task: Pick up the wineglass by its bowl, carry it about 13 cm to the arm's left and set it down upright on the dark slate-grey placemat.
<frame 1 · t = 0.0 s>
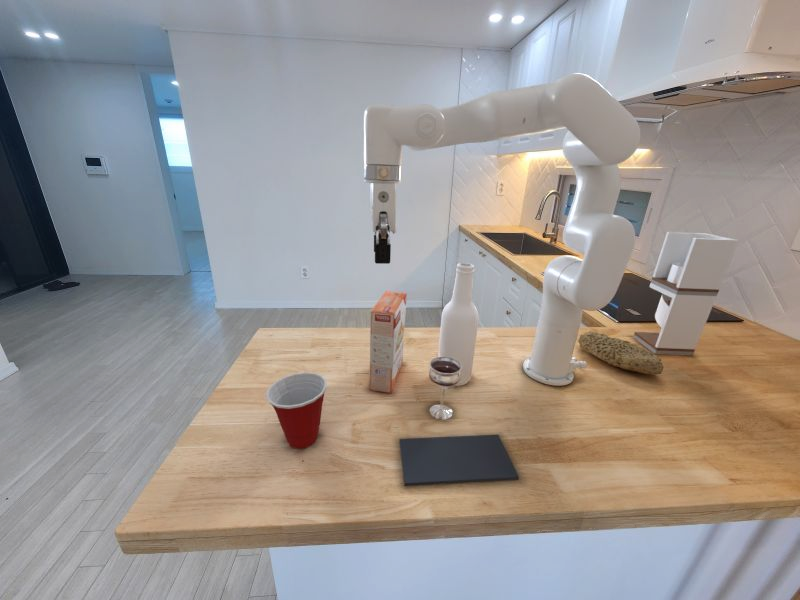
hand: (381, 257, 74), 31 cm above the counter, tool pointing down, fingers open, 9 cm apart
wineglass: (441, 412, 74), on the counter
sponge: (616, 363, 96), on the counter
placemat: (455, 459, 62), on the counter
white shelf stand: (661, 346, 107), on the counter
plastic cup: (301, 438, 66), on the counter
alcohol: (453, 377, 87), on the counter
cracker box: (387, 377, 86), on the counter
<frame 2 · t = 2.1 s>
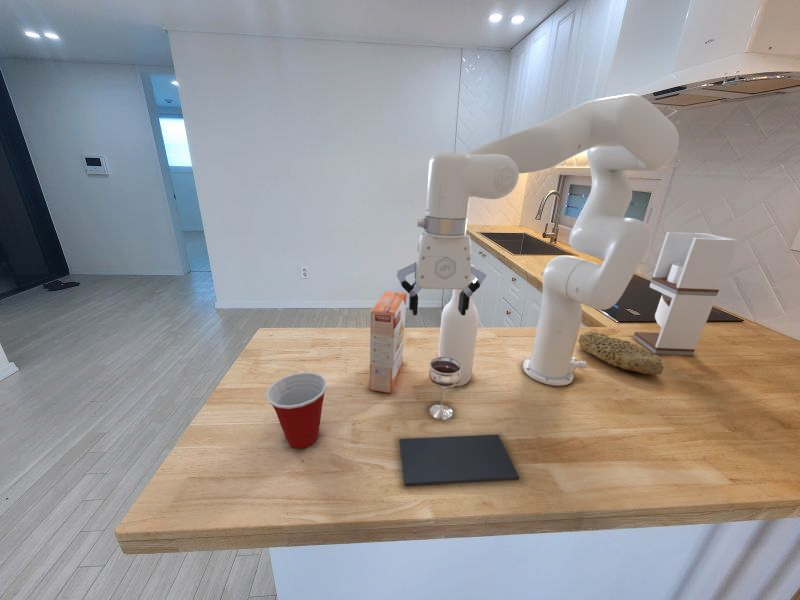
hand: (438, 312, 67), 23 cm above the counter, tool pointing down, fingers open, 9 cm apart
nothing on the counter moved.
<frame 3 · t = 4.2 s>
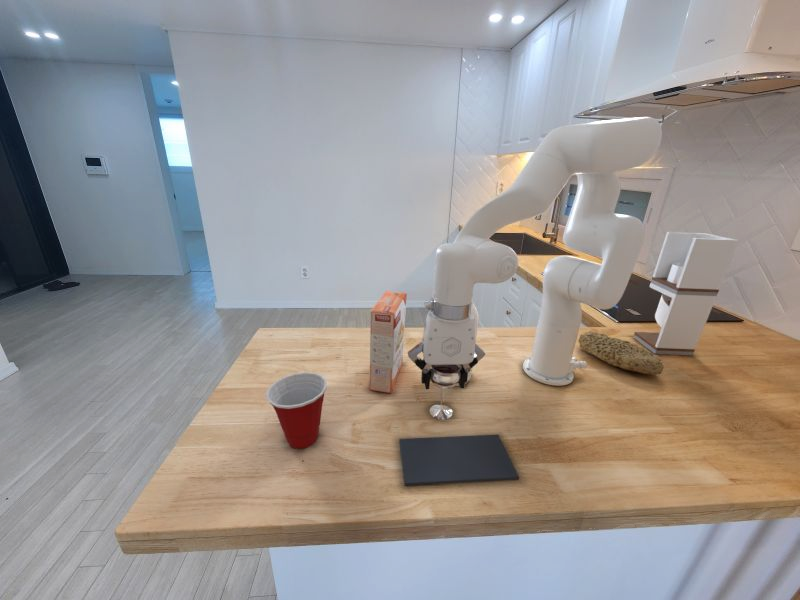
hand: (443, 384, 71), 7 cm above the counter, tool pointing down, fingers closed on wineglass, 6 cm apart
wineglass: (441, 412, 74), on the counter, touching gripper
everything else where it was.
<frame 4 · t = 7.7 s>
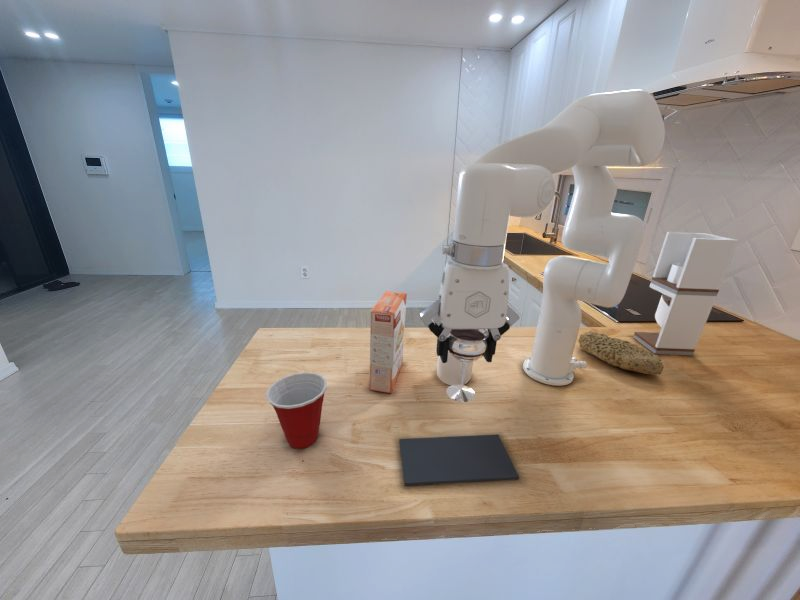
hand: (464, 357, 56), 21 cm above the counter, tool pointing down, fingers closed on wineglass, 6 cm apart
wineglass: (460, 393, 59), point 13 cm above the counter, touching gripper
everything else where it was.
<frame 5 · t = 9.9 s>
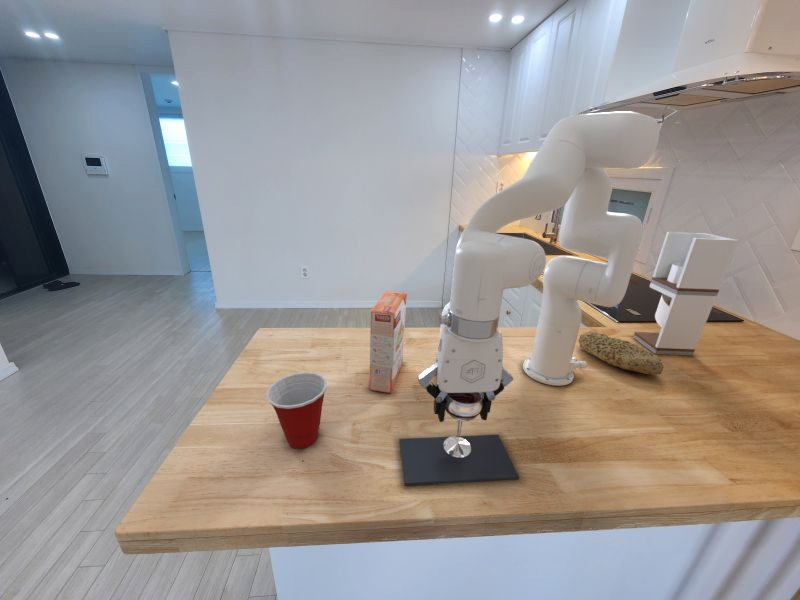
hand: (461, 414, 58), 10 cm above the counter, tool pointing down, fingers closed on wineglass, 6 cm apart
wineglass: (457, 447, 61), point 3 cm above the counter, touching gripper
everything else where it was.
when the fingers open (8 cm above the counter, at t = 11.2 s): wineglass stays where it is, resting on placemat.
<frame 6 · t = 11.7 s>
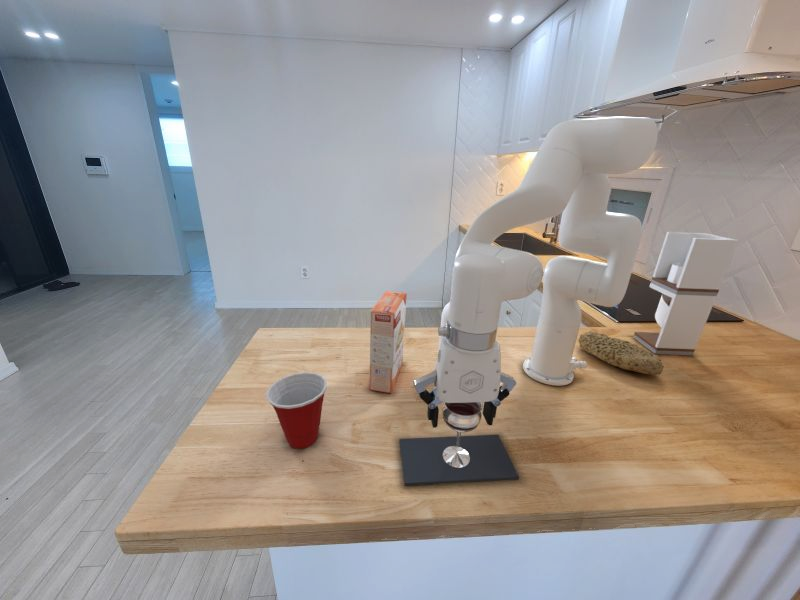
hand: (460, 421, 59), 9 cm above the counter, tool pointing down, fingers open, 9 cm apart
wineglass: (456, 457, 62), resting on placemat
everything else where it was.
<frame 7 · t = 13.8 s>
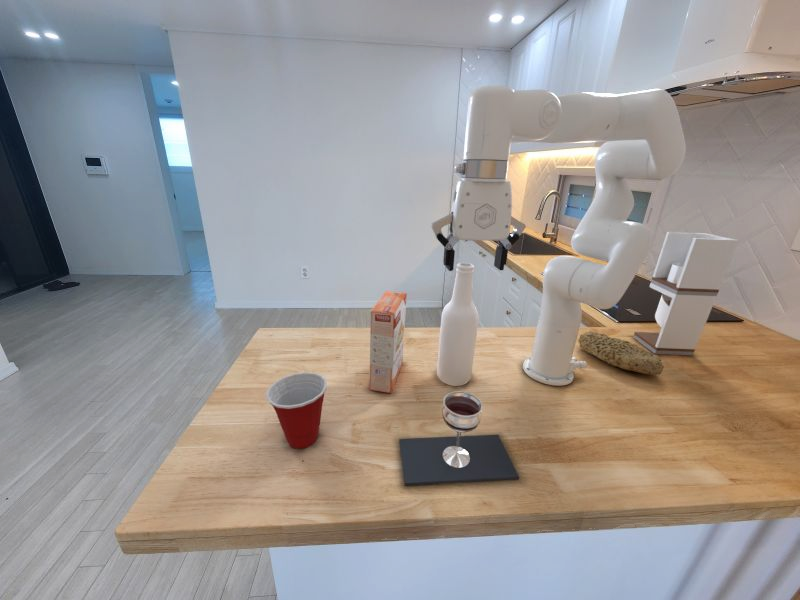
hand: (474, 268, 64), 32 cm above the counter, tool pointing down, fingers open, 9 cm apart
nothing on the counter moved.
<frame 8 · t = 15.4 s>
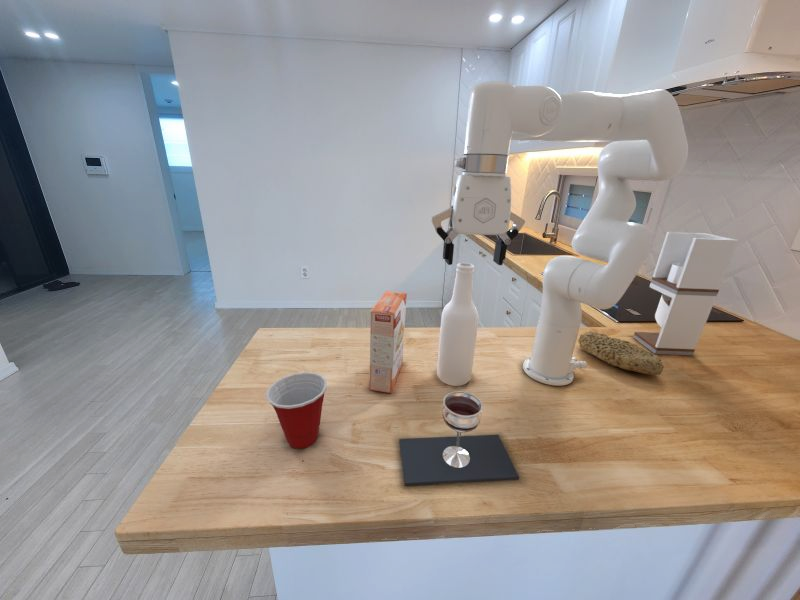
hand: (473, 263, 64), 33 cm above the counter, tool pointing down, fingers open, 9 cm apart
nothing on the counter moved.
at the end: wineglass inside the target area on the placemat (0.1 cm from its centre), point 0.4 cm above the placemat's base; wineglass tilted 0°; wineglass moved 13.0 cm from its start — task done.
